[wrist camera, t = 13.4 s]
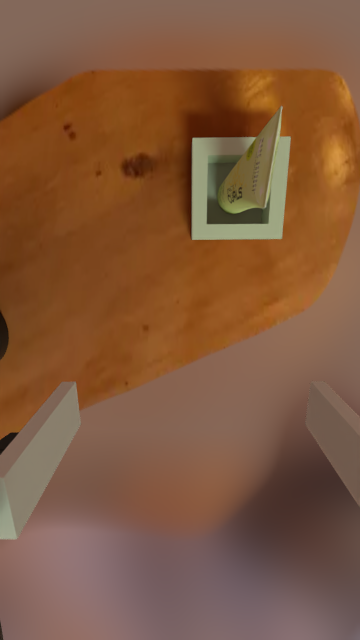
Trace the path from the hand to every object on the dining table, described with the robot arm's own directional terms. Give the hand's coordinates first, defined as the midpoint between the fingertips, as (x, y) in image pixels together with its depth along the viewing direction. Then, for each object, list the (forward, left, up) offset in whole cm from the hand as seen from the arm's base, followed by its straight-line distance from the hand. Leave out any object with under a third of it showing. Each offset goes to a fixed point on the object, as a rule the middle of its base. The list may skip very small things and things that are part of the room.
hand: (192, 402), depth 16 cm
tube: (+7, +15, -31) cm, 35 cm away
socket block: (+7, +15, -32) cm, 36 cm away
